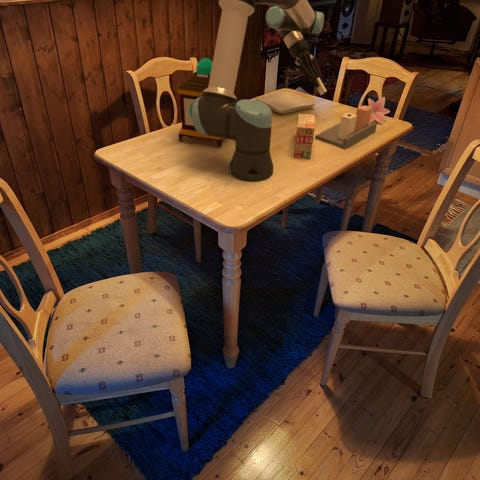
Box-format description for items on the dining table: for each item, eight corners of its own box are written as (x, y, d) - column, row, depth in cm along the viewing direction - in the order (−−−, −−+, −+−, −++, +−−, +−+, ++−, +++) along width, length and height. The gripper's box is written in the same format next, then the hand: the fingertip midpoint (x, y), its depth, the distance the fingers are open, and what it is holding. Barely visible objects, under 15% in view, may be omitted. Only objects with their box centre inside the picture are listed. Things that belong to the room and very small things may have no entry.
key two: (361, 132, 171) (366, 110, 165) (353, 129, 173) (357, 107, 167) (367, 129, 174) (372, 107, 168) (359, 126, 176) (363, 104, 170)
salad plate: (287, 97, 210) (288, 90, 208) (315, 110, 196) (316, 102, 194) (253, 104, 201) (253, 97, 199) (280, 118, 187) (280, 110, 185)
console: (345, 149, 161) (346, 139, 159) (315, 138, 169) (316, 129, 166) (375, 132, 176) (377, 122, 173) (346, 122, 183) (347, 114, 181)
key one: (346, 141, 163) (350, 117, 158) (337, 138, 166) (341, 115, 160) (352, 137, 166) (357, 114, 161) (344, 134, 169) (348, 111, 163)
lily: (353, 122, 187) (361, 107, 178) (364, 105, 191) (372, 90, 183) (377, 135, 185) (386, 121, 176) (387, 117, 190) (396, 103, 181)
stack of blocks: (295, 135, 171) (299, 105, 164) (311, 136, 171) (315, 106, 163) (293, 158, 155) (297, 126, 147) (310, 159, 154) (314, 127, 146)
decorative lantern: (238, 131, 173) (240, 54, 155) (222, 150, 158) (222, 68, 140) (194, 124, 178) (190, 49, 160) (174, 143, 163) (168, 62, 145)
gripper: (299, 47, 183) (325, 94, 184) (281, 52, 175) (308, 101, 177) (311, 35, 177) (338, 84, 178) (292, 40, 169) (321, 91, 171)
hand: (323, 93), depth 177 cm, fingers closed
